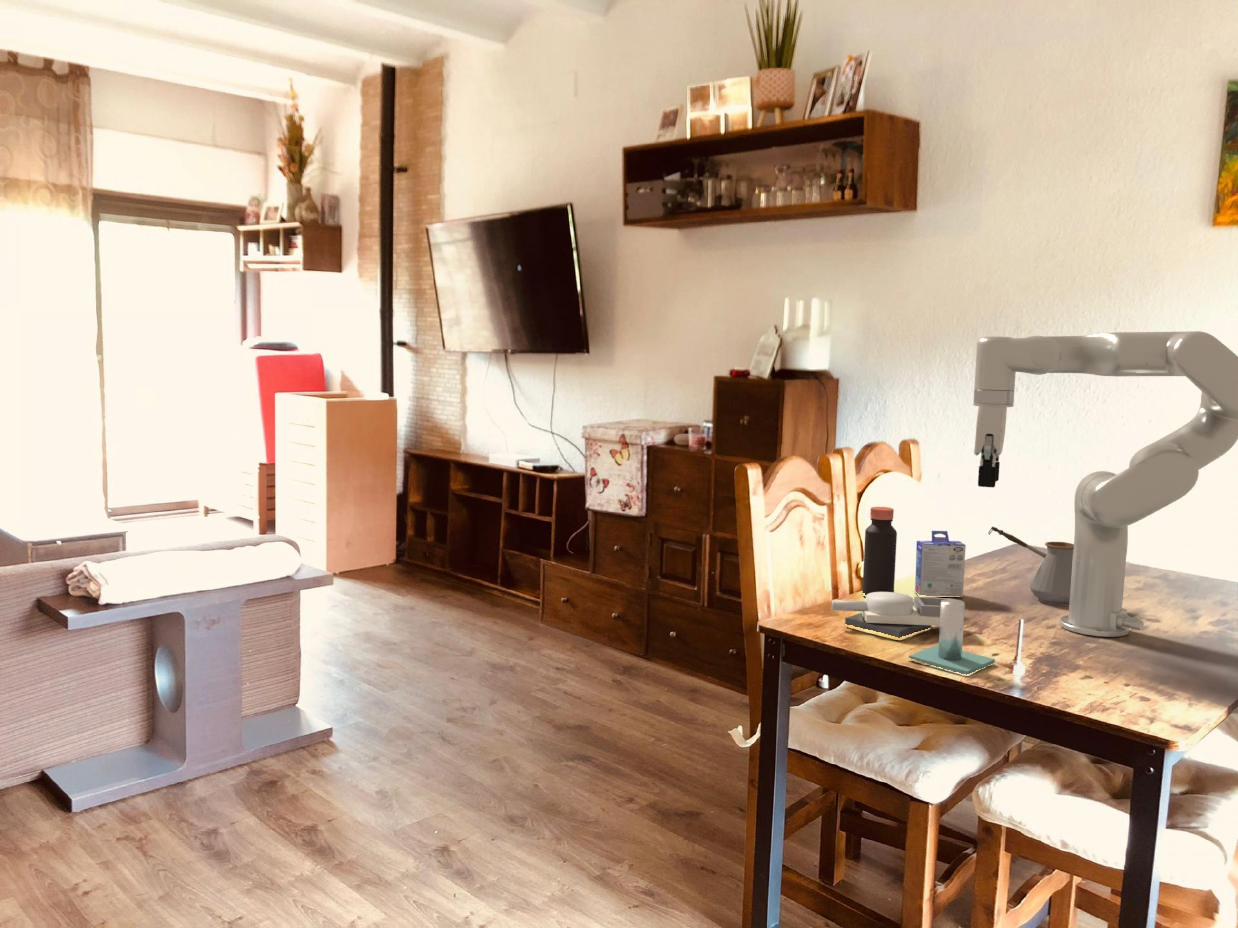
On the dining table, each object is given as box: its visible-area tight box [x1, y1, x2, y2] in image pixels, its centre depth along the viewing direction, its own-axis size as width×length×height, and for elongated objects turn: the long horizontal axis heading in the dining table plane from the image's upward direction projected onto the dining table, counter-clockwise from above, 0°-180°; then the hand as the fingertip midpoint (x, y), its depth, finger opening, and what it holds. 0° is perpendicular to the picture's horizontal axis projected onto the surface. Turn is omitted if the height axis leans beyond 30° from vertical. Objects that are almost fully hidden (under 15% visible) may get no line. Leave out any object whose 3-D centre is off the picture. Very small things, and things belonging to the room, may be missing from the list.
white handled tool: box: [831, 592, 952, 627], centre depth 196 cm, size 24×9×4 cm, turn 84°
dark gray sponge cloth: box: [844, 612, 933, 638], centre depth 196 cm, size 12×12×2 cm
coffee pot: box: [987, 526, 1074, 607], centre depth 222 cm, size 21×12×15 cm, turn 53°
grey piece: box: [938, 598, 966, 661], centre depth 175 cm, size 4×4×10 cm
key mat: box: [908, 644, 996, 675], centre depth 176 cm, size 11×10×1 cm
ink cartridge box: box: [914, 530, 967, 597], centre depth 222 cm, size 10×6×14 cm, turn 89°
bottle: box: [861, 506, 898, 595], centre depth 219 cm, size 7×7×20 cm
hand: (988, 483), depth 200 cm, fingers open, 9 cm apart
